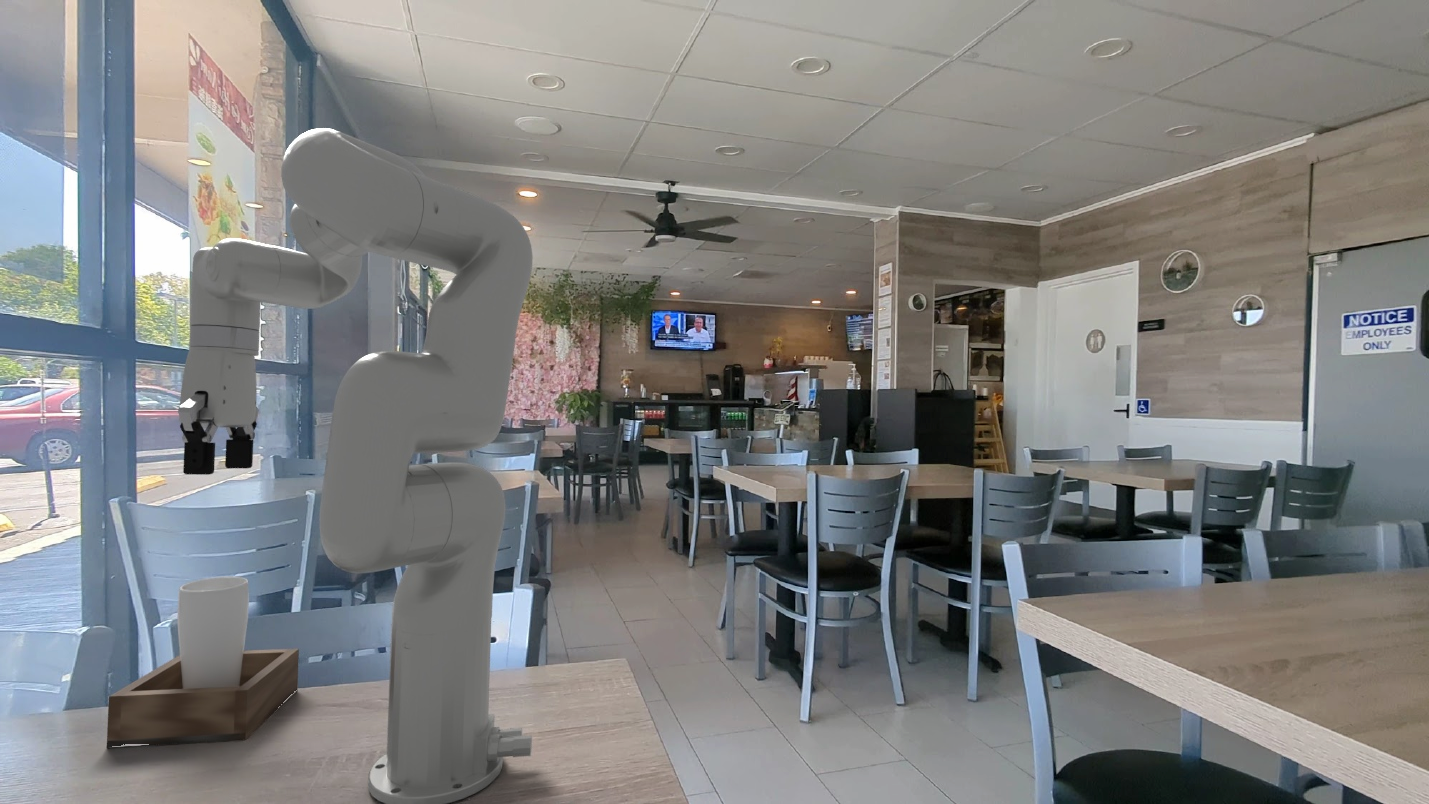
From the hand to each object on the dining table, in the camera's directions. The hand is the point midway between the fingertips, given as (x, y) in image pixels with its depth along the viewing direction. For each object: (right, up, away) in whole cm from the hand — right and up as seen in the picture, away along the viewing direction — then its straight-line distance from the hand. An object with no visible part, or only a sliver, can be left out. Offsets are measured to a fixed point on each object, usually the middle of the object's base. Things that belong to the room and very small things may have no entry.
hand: (219, 471), depth 89 cm
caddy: (+6, -28, -10) cm, 30 cm away
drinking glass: (+6, -28, -10) cm, 30 cm away
